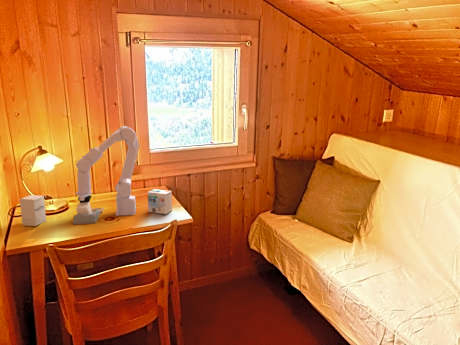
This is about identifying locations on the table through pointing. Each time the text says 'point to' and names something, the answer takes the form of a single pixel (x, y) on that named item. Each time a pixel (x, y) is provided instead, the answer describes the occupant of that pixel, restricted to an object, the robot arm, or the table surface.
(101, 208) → the stand
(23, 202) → the supplement box
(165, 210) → the light bulb box
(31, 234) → the table surface
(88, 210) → the block
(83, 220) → the tray
